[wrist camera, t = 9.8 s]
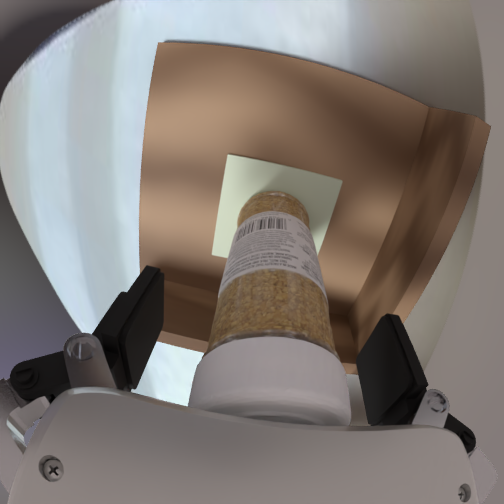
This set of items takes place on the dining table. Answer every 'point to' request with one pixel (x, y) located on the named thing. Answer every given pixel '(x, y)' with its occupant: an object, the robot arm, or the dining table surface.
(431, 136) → the tray
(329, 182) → the sage pad
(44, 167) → the dining table surface
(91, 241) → the dining table surface
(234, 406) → the sprinkles bottle
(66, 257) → the dining table surface
